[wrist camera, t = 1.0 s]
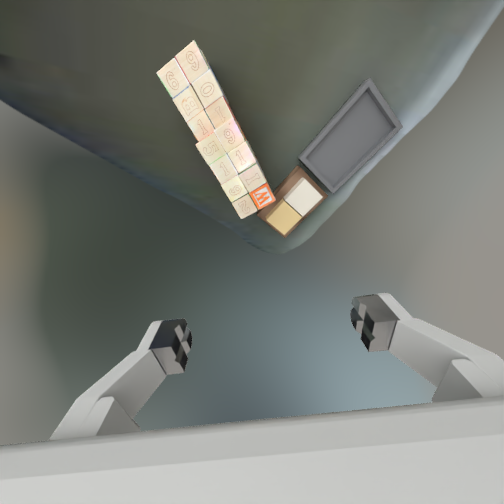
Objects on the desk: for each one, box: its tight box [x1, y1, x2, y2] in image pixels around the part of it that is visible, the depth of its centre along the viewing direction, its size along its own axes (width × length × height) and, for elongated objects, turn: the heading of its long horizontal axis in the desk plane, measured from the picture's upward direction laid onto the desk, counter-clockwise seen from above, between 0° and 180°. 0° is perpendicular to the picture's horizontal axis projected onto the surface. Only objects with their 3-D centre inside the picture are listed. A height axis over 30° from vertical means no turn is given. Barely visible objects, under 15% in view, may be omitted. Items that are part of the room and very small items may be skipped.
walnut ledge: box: [257, 166, 328, 238], centre depth 41 cm, size 12×8×3 cm, turn 140°
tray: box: [297, 78, 403, 194], centre depth 36 cm, size 15×10×2 cm, turn 140°
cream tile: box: [283, 177, 323, 216], centre depth 38 cm, size 5×5×2 cm
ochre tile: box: [266, 198, 302, 235], centre depth 40 cm, size 5×5×2 cm
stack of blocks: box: [157, 40, 276, 219], centre depth 31 cm, size 21×6×12 cm, turn 29°
